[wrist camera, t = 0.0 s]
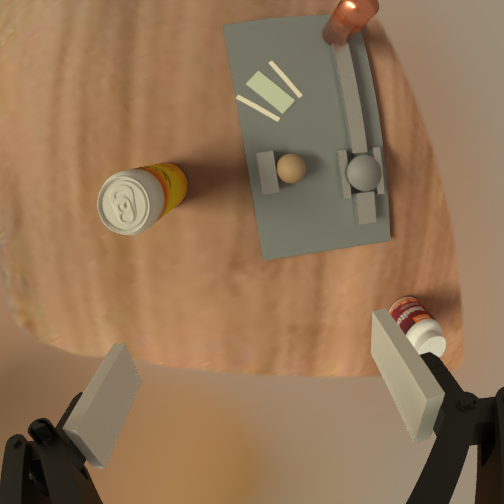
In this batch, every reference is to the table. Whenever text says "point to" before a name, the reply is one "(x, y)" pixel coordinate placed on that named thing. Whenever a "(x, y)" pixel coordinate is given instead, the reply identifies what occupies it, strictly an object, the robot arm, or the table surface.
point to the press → (303, 136)
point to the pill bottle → (418, 326)
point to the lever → (352, 98)
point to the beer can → (140, 197)
